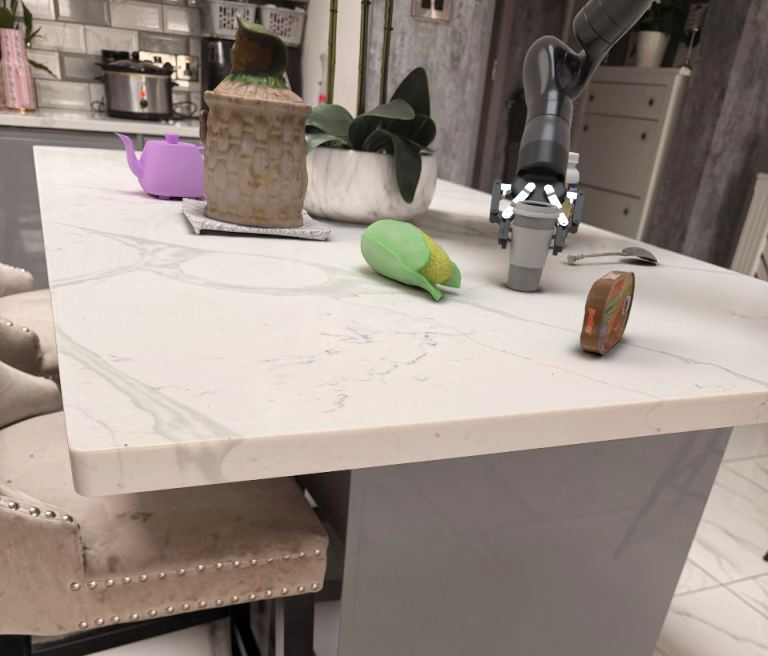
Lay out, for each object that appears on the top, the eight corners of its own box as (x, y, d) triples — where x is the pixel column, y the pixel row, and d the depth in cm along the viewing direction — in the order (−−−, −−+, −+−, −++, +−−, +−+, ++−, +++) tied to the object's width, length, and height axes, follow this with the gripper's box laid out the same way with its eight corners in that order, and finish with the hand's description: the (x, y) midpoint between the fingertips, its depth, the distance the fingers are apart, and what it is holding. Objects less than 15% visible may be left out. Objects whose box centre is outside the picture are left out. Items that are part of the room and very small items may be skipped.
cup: (513, 293, 112) (528, 207, 106) (491, 282, 117) (504, 198, 111) (554, 293, 115) (571, 208, 109) (530, 281, 120) (545, 200, 114)
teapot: (204, 192, 167) (204, 132, 161) (226, 202, 158) (226, 140, 152) (110, 189, 158) (106, 125, 152) (127, 200, 148) (123, 133, 142)
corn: (401, 233, 119) (485, 265, 105) (372, 277, 120) (452, 315, 106) (368, 200, 113) (454, 230, 99) (338, 247, 114) (419, 283, 100)
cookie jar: (334, 241, 133) (348, 25, 117) (188, 234, 125) (183, 2, 110) (306, 216, 153) (315, 29, 137) (179, 208, 146) (174, 10, 130)
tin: (596, 362, 87) (614, 287, 82) (569, 355, 88) (586, 281, 84) (626, 334, 98) (644, 268, 94) (602, 329, 100) (619, 263, 95)
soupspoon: (663, 269, 146) (637, 263, 151) (668, 251, 144) (641, 245, 149) (581, 267, 134) (555, 260, 139) (585, 247, 133) (559, 241, 138)
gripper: (499, 132, 113) (483, 226, 109) (596, 143, 112) (584, 239, 108) (494, 167, 120) (479, 258, 116) (585, 179, 119) (573, 270, 115)
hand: (530, 248), depth 112 cm, fingers closed on cup, 7 cm apart
